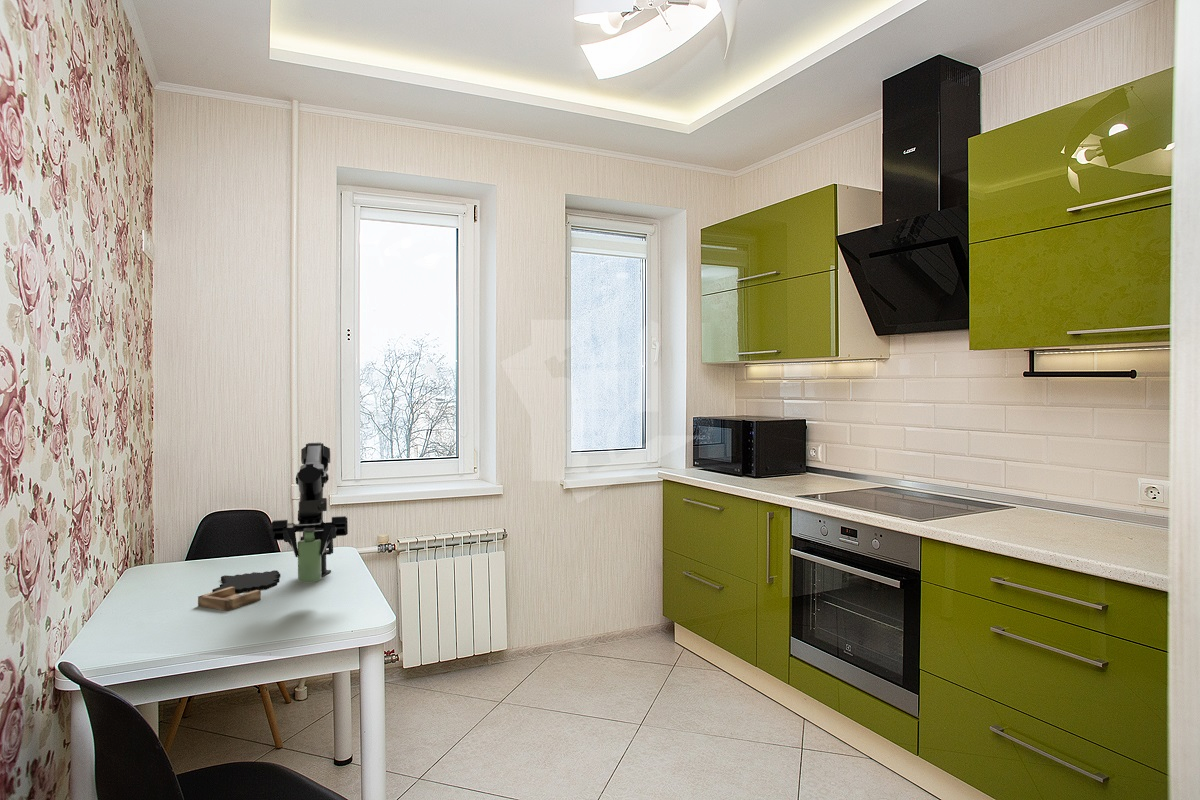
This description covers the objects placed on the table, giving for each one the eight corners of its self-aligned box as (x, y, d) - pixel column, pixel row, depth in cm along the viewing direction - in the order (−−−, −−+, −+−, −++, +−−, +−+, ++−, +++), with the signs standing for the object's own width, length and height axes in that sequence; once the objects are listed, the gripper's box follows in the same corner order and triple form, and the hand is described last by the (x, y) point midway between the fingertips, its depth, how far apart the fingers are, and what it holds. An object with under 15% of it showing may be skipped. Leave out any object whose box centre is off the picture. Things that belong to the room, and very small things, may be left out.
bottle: (305, 576, 183) (304, 526, 183) (325, 576, 183) (324, 526, 183) (293, 582, 178) (293, 530, 178) (314, 582, 177) (313, 530, 177)
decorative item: (242, 568, 215) (300, 571, 211) (242, 573, 215) (300, 576, 211) (184, 589, 192) (247, 593, 188) (184, 595, 192) (247, 598, 188)
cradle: (231, 595, 190) (231, 586, 190) (260, 599, 186) (260, 590, 186) (198, 606, 181) (197, 596, 181) (228, 610, 177) (228, 600, 177)
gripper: (270, 489, 180) (266, 540, 170) (346, 486, 187) (347, 534, 177) (274, 514, 188) (270, 565, 178) (347, 510, 194) (347, 558, 184)
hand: (309, 555), depth 179 cm, fingers closed on bottle, 6 cm apart
